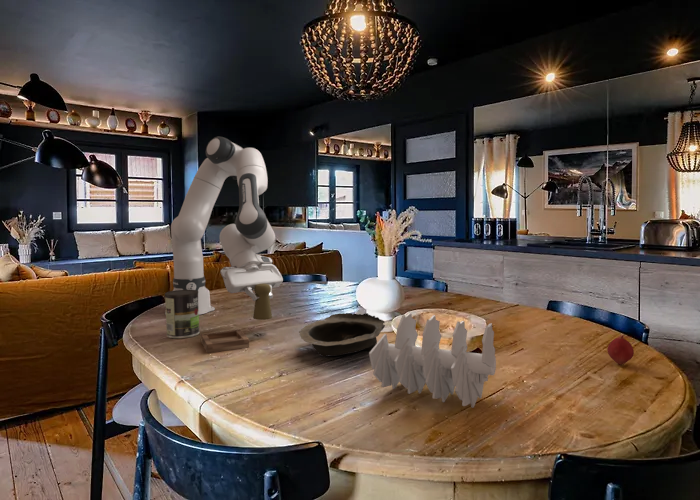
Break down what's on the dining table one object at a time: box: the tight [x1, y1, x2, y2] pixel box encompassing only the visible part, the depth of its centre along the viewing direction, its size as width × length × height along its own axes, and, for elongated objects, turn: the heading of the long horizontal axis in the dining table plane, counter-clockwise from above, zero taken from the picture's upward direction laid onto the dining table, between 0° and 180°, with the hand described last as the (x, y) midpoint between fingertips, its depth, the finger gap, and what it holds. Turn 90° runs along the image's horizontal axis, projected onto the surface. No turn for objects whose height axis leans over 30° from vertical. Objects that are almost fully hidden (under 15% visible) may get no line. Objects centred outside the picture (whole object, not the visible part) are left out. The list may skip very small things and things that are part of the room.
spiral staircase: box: [368, 312, 497, 408], centre depth 97 cm, size 18×18×25 cm
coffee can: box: [164, 290, 200, 339], centre depth 147 cm, size 10×10×14 cm
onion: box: [607, 334, 635, 366], centre depth 116 cm, size 6×6×8 cm
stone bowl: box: [298, 312, 386, 358], centre depth 129 cm, size 25×25×9 cm
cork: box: [252, 283, 273, 321], centre depth 144 cm, size 6×6×11 cm
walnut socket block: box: [200, 329, 250, 354], centre depth 135 cm, size 12×12×2 cm
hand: (263, 298), depth 143 cm, fingers closed on cork, 4 cm apart
